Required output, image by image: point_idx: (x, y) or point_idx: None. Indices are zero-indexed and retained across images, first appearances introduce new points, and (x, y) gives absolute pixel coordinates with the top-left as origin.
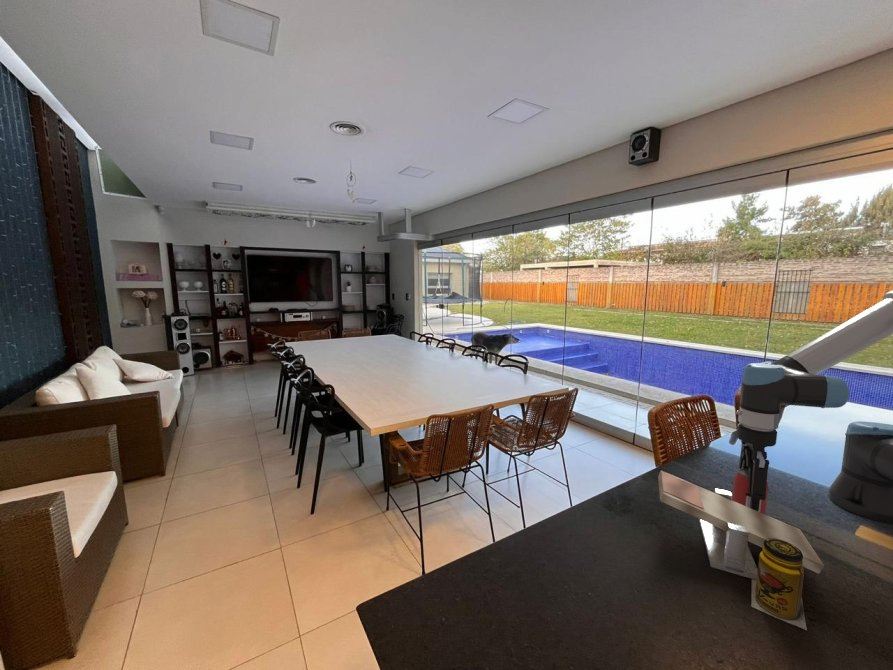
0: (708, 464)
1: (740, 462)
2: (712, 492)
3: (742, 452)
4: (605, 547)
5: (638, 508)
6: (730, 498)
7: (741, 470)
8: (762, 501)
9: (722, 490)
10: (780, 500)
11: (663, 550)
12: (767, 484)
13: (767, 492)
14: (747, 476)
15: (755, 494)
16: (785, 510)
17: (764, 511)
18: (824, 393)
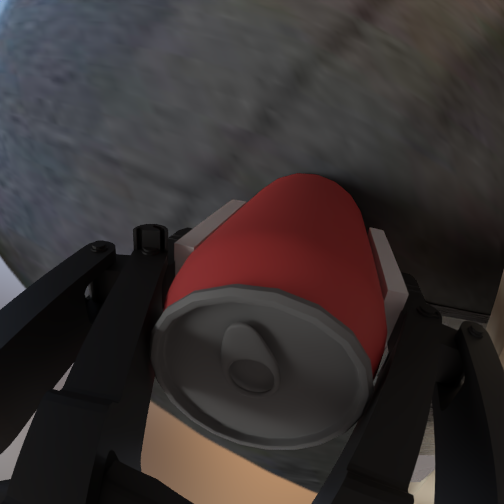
0: (4, 214)
1: (73, 356)
2: (421, 488)
3: (22, 423)
4: None
5: (329, 464)
6: None
7: (193, 404)
8: (370, 252)
9: None
10: (111, 51)
11: None
12: (339, 269)
13: (338, 231)
14: (327, 439)
15: (462, 383)
16: (179, 49)
17: (349, 205)
18: None
